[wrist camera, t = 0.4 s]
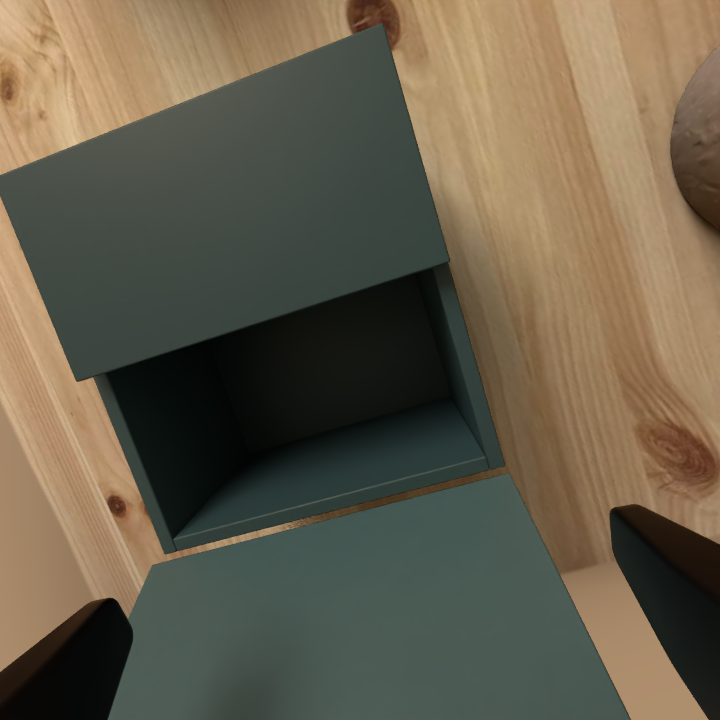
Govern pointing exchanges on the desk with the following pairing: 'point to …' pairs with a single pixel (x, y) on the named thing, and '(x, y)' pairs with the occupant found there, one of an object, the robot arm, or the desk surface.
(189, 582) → the flap
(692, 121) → the pillar candle
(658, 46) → the desk surface
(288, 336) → the carton
